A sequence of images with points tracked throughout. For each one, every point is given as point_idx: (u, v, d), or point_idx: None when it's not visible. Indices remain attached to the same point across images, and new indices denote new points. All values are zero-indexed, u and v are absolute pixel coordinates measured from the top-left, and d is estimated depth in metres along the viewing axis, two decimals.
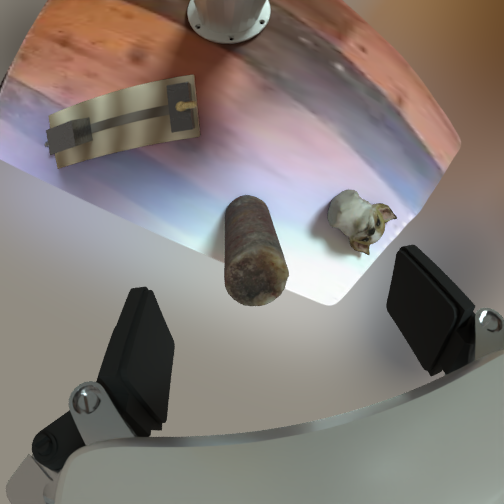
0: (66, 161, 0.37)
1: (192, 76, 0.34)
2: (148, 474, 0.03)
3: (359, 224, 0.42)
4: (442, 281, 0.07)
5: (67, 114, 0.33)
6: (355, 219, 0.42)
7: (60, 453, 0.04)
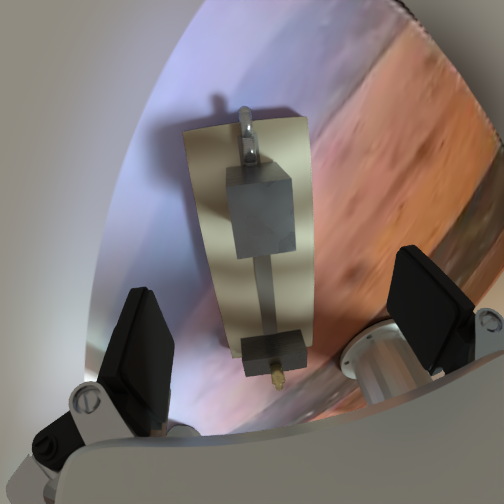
0: (196, 157, 0.21)
1: (309, 345, 0.33)
2: (148, 474, 0.03)
3: None
4: (442, 281, 0.07)
5: (297, 166, 0.22)
6: None
7: (60, 453, 0.04)
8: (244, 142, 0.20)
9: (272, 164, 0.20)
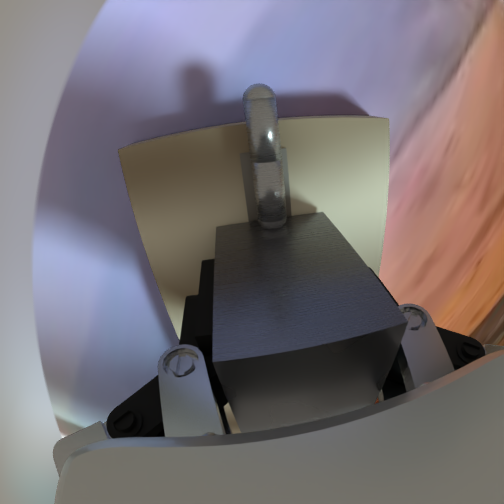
0: (151, 204, 0.10)
1: None
2: (148, 474, 0.03)
3: None
4: None
5: (362, 219, 0.11)
6: None
7: (147, 426, 0.05)
8: (259, 173, 0.08)
9: (321, 225, 0.09)
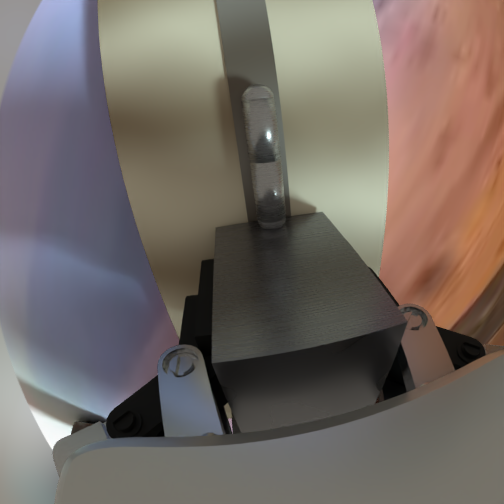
0: (118, 17, 0.06)
1: None
2: (148, 474, 0.03)
3: None
4: None
5: (353, 35, 0.07)
6: None
7: (147, 426, 0.05)
8: (258, 174, 0.08)
9: (321, 225, 0.09)
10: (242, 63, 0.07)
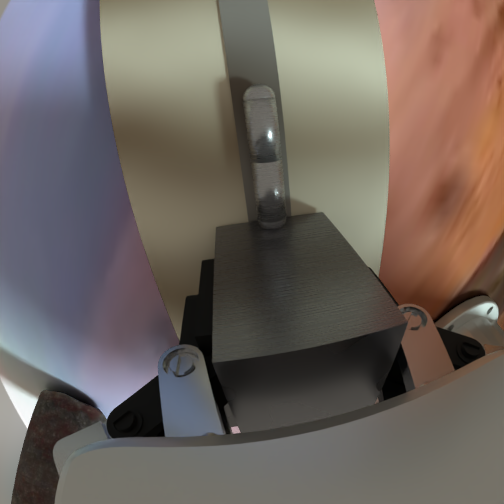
0: None
1: None
2: (148, 474, 0.03)
3: None
4: None
5: None
6: None
7: (147, 426, 0.05)
8: (258, 173, 0.08)
9: (321, 225, 0.09)
10: None
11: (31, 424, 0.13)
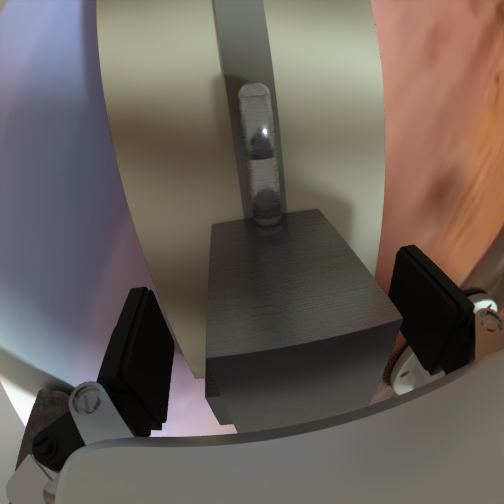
0: None
1: None
2: (148, 474, 0.03)
3: None
4: (442, 281, 0.07)
5: None
6: None
7: (60, 453, 0.04)
8: (253, 170, 0.08)
9: (317, 222, 0.09)
10: None
11: (29, 423, 0.13)
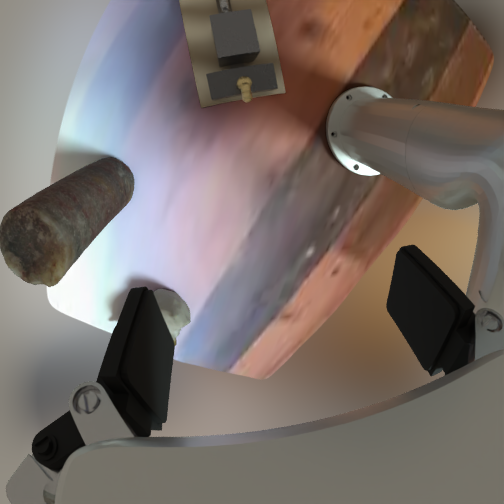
0: None
1: (282, 91, 0.28)
2: (148, 474, 0.03)
3: None
4: (442, 281, 0.07)
5: None
6: None
7: (60, 453, 0.04)
8: (223, 13, 0.22)
9: None
10: None
11: None
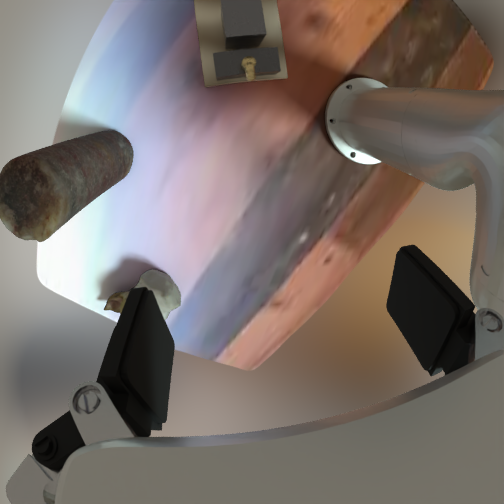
0: None
1: (285, 76, 0.28)
2: (148, 474, 0.03)
3: None
4: (442, 281, 0.07)
5: None
6: None
7: (60, 453, 0.04)
8: None
9: None
10: None
11: None
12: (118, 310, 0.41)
